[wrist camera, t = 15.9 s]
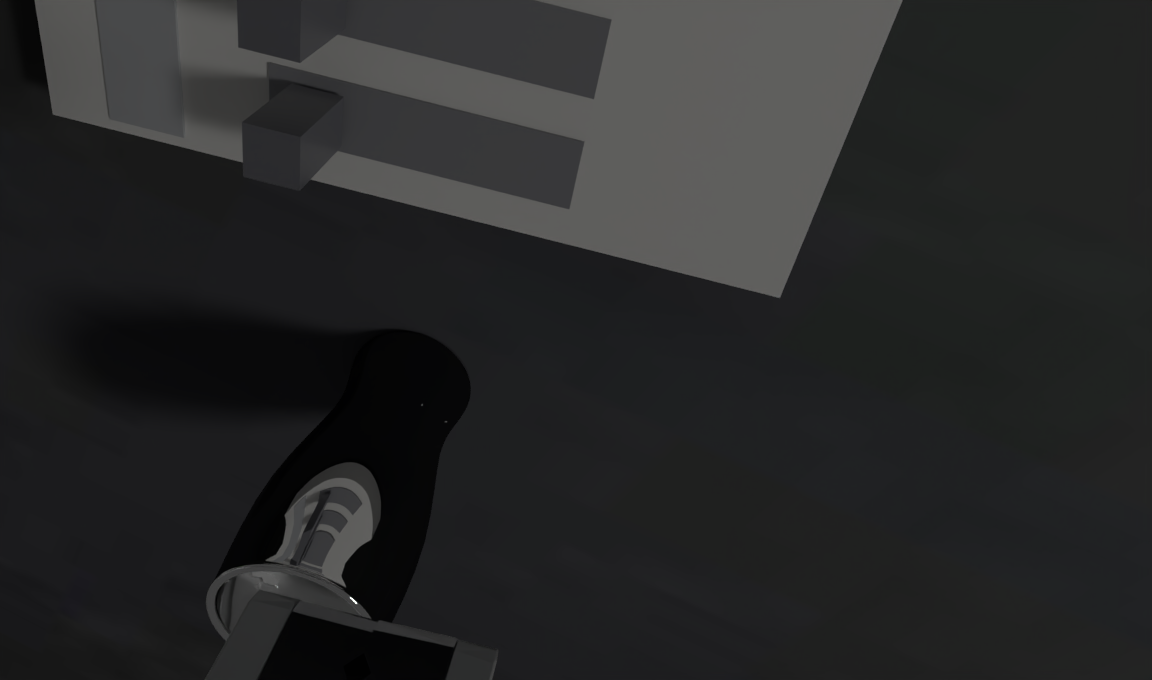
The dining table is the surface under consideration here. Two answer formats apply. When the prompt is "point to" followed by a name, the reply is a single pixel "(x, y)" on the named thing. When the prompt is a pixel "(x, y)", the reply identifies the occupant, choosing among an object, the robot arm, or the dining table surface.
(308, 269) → the dining table surface
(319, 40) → the breaker handle
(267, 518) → the beer glass
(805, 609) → the dining table surface
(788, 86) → the breaker panel
